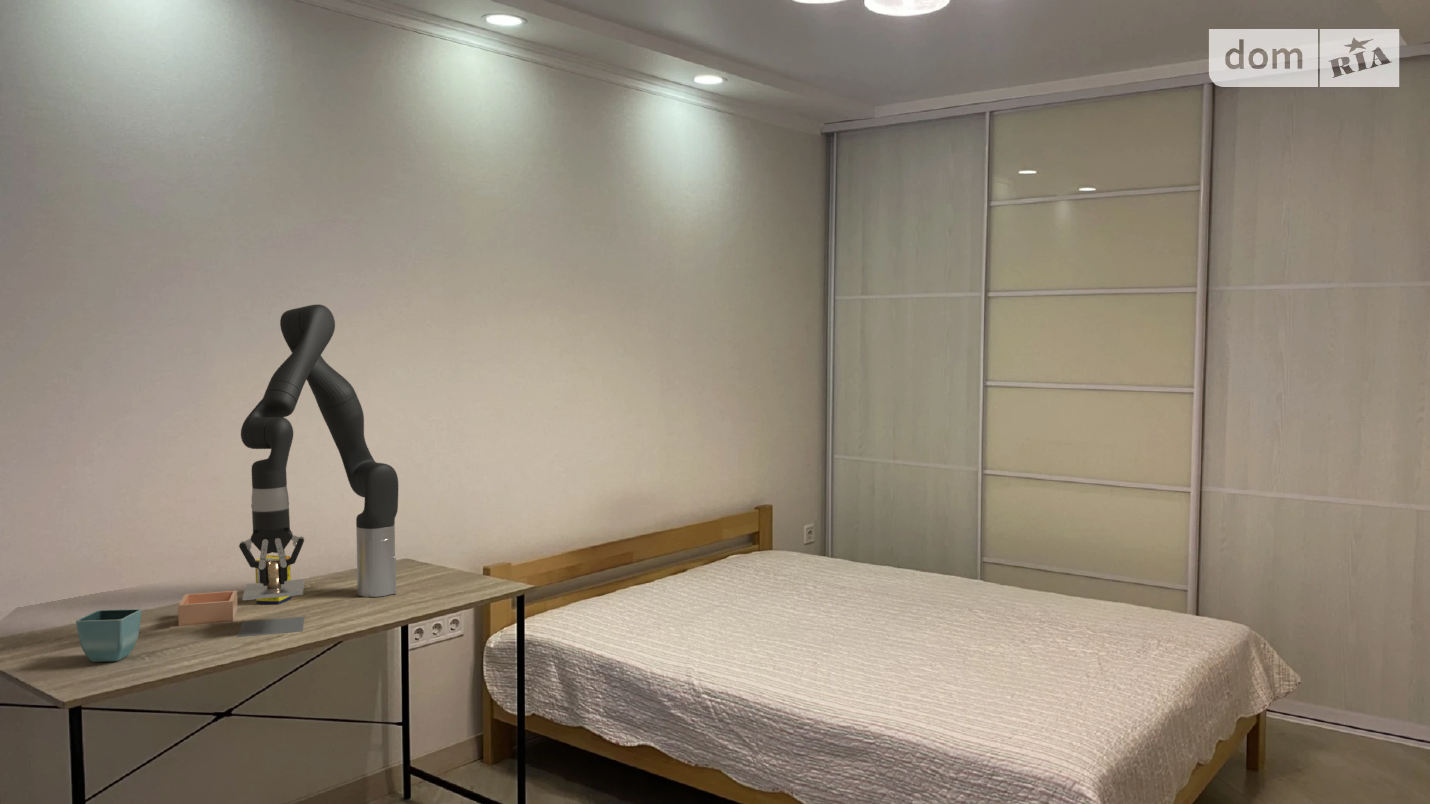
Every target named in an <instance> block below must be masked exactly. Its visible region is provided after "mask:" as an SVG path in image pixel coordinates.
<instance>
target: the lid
mask: <svg viewBox="0 0 1430 804" xmlns="http://www.w3.org/2000/svg"><path fill="white" fill-rule="evenodd" d="M280 568H281V564H280V560H279V559H273V560H267V561H266V577H267V586H263V584H261V583H256V582H255V583H246V584H245V588H244V591H243V594H242V601H250V600H256V599H263V598H273V597H284V596H291V597H293V596H294V597H295V596H301V595H302V596H304V587H305V579H304V578H301V579H299V578H298V579H291V580H287V581H285V583H284V584H281V575H280Z"/></svg>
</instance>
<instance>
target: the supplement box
mask: <svg viewBox="0 0 1430 804" xmlns="http://www.w3.org/2000/svg"><path fill="white" fill-rule="evenodd" d="M290 557H291V555H286V559H289V558H290ZM273 559H279V556H278V555H276V554H275V555H274V554H273V555H272V554H271V555H269V554H267V556H266V561H267V560H273ZM255 560H256V561H260V557H259V558H257V559H255ZM279 560H280V559H279ZM265 567H266V563H265ZM287 573H288V579H287V580H292V578H291V565H289V566H288V567H287ZM255 583H260V575H259V569H258V568H255ZM291 599H292V596H284V597H273V598H263V599H255V600H256V605H259V604H260V605H280V604H283V603H285V602H287V601H290V600H291Z"/></svg>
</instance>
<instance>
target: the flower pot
mask: <svg viewBox="0 0 1430 804" xmlns="http://www.w3.org/2000/svg"><path fill="white" fill-rule="evenodd" d="M142 611H143V609H142V608H139V609H138V608H137V609H134V608H131V609H126V608H125V609H101V610H99V609H98V610H96V611H93V612H91V613H89V614H87V615H85V616H82V617H81V618H79V619H76V620H75V623H76V624H75V625H76V629H77V634H78V638H79V639H78V640H79V644H80V647H81V649H82V651H83V653H84V655H85V656H86V657H87V658H88V659H89V661H91V662H92V663H93V662H94V663H100V662H118V661H120V660H122V659H124V658H125V657H127V656H129V655H130V654H131V652H132V651H133V649H134V647H135V645H136V643H137V641H138V638H139V633H140V628H141V620H142Z"/></svg>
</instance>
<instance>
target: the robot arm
mask: <svg viewBox="0 0 1430 804" xmlns="http://www.w3.org/2000/svg"><path fill="white" fill-rule="evenodd" d="M335 329H336V321H335V318H334V315H333V312H332V311H331V309H329V307H327V306H325V305H323V304H309V305H306V306H301V307H298V308H297V307H296V308H292V309H289V310H286V311H284V312H283V313H282V314H281V316H280V331H281V333H282V336H283V338H284V341H285V343H286V344H287V347H288V349H289V350H290V352H291V354H290V355H289V356H288V357H287V358H286V360H284V361H283V363H282V364H280V366H278V368H277V369H276V371H274V373H273V374H272V376H271V378H270V380H269V382H268V385H267V388H266V389H265V392H264V394H263V397H262V399H261V400H260V401H259V402H258V403H257V405H255V407H254V408H253V409H252V410H251V412H250V413H249V414H248V415H247V416H246V418H245V420H244V422H243V423H242V426H241V429H240V439H241V442H242V443H243V445H244V446H245V447H247V448H248V449H252V450H270V453H269V456H268V457H267V458H265V459H259V460H256V461H254V462H253V463H252V465H251V488H252V489H251V518H252V521H251V523H252V534H251V536H250V538H249V539H246V540H244V541H241V542H240V543H239V545H238V547H239V549H240V551H241V553H242V555H243V556H244V558H245V559H246V562H247V564H248V565H249V567H250V568H258V569H259V575H260V583H261V584H263V586H267V577H266V567H265V563H266V556H267V555H269V554H272V553H273V554H277V556H279V559H280V564H281V568H280V575H281V584H284V583H285V581H287V579H288V573H287V567H288V566H289V565H290V566H291V565H294V564H295V563H297V562H296V561H297V559H298V556H299V554H300V552H301V550H302V547H303V545H304V542H305V538H304V536H298V535H294V534H293V531H291V528H290V527H291V523H290V522H291V520H290V501H289V500H290V499H289V492H288V485H287V484H288V483H287V482H288V481H287V480H288V478H287V465H288V460H289V455H290V451H291V447H292V443H293V440H294V427H293V426H292V423H291V422H290V421H289V419H287V418H286V417H289V416H291V415H292V414H293V413H294V411H295V410H296V406H297V404H298V401H299V398H300V395H301V393H302V390H303V388H304V386H305V384H306V381H307V383H308V385H309V387H310V391H311V392H312V395H314V398H315V399H314V400H315V401H316V403H317V406H318V409H319V411H320V413H321V415H322V418H323V420H324V422H325V424H326V426H327V428H328V430H329V432H330V435H331V437H332V439H333V442H334V443H335V446H336V449H337V450H338V452H339V456H340V457H341V461H342V463H343V464H342V465H343V468H344V470H345V474H346V477H347V481H348V483H349V485H350V488H351V489H352V491H353V492H354V494H356V495H357V496H359V497H361V498H364V506H363V510H362V511H361V513H359V514H358V515H357V516H356V519H355V525H356V527H355V528H356V531H355V532H356V571H357V572H356V574H357V575H356V578H357V579H356V580H357V583H356V586H357V595H358V596H360V597H367V598H375V597H377V598H378V597H385V596H391V595H395V594H397V559H396V558H397V556H396V534H395V533H396V531H395V530H396V528H395V521H396V516H397V514H398V510H399V477H398V474H397V472H396V469H395V468H394V467H392V466H391V465H390V464H388V463H382V462H376V461H375V459H374V458H373V456H372V454H371V452H370V449H369V448H368V445H367V443H366V439H365V415H364V409H363V407H362V404H361V403H360V402H361V401H360V400H359V397H358V394H357V393H356V391H355V389H354V387H353V386H352V384H351V383H350V382H349V381H348V380H347V379H346V378H345V377H344V376H343V375H341V374H340V373H339V372H338V371H336V370H335V369H334V368H333V367H332V366H330V365H329V364H328V363H327V362H326V360H325V359H324V358H323V357H322V354H323V352H324V351H325V349H326V348H327V346H328V345H329V343H330V341H331V340H332V337H333V336H334V333H335ZM291 540H292V545H293V546H294V548H293V551H292V552H291V555H290V558H289V559H286V556H287V555H286V551H285V549H286V547H287V546H288V545H289V544H290V542H291ZM252 544H253V545H254V546H255V547H256V548H257V549H258V551H259V552H260V554H259V558H260V561H256V559H255V557H254V555H253V553H252V551H251V549H252Z"/></svg>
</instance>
